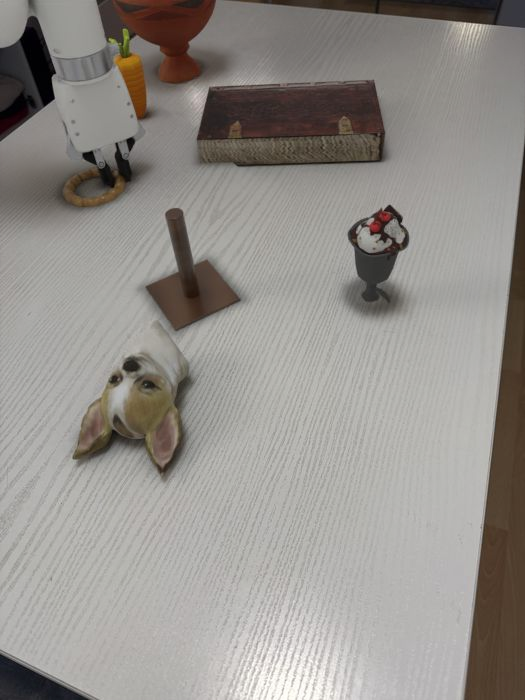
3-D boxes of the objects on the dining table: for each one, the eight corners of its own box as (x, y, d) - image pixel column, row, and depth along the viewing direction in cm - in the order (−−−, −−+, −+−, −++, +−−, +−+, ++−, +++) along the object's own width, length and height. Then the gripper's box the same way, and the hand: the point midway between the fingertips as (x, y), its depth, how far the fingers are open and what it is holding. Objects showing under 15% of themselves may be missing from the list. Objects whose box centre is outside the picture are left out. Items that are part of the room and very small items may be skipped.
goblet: (113, 79, 111) (73, -70, 92) (182, 46, 120) (158, -97, 100) (175, 106, 102) (145, -54, 83) (245, 68, 111) (232, -85, 92)
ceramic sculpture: (202, 315, 55) (153, 449, 46) (215, 364, 62) (175, 488, 53) (105, 304, 57) (42, 430, 48) (128, 352, 64) (77, 470, 55)
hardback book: (371, 104, 98) (374, 76, 94) (381, 162, 86) (385, 132, 82) (212, 111, 100) (209, 83, 96) (201, 168, 88) (196, 139, 84)
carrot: (134, 130, 97) (112, 40, 86) (123, 119, 100) (100, 31, 89) (159, 121, 99) (140, 32, 87) (147, 111, 102) (127, 23, 90)
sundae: (355, 326, 64) (366, 224, 53) (334, 289, 69) (341, 186, 57) (406, 313, 65) (428, 209, 54) (383, 277, 70) (398, 173, 58)
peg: (176, 336, 65) (153, 251, 55) (146, 292, 70) (120, 207, 60) (241, 305, 68) (230, 218, 58) (207, 265, 73) (192, 180, 63)
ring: (77, 218, 81) (73, 209, 80) (57, 188, 87) (53, 179, 86) (136, 195, 84) (133, 187, 83) (113, 168, 90) (110, 159, 88)
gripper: (127, 37, 77) (154, 156, 91) (16, 68, 72) (63, 188, 86) (148, 55, 73) (173, 176, 87) (32, 89, 68) (78, 212, 82)
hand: (118, 181), depth 86 cm, fingers closed on ring, 2 cm apart
